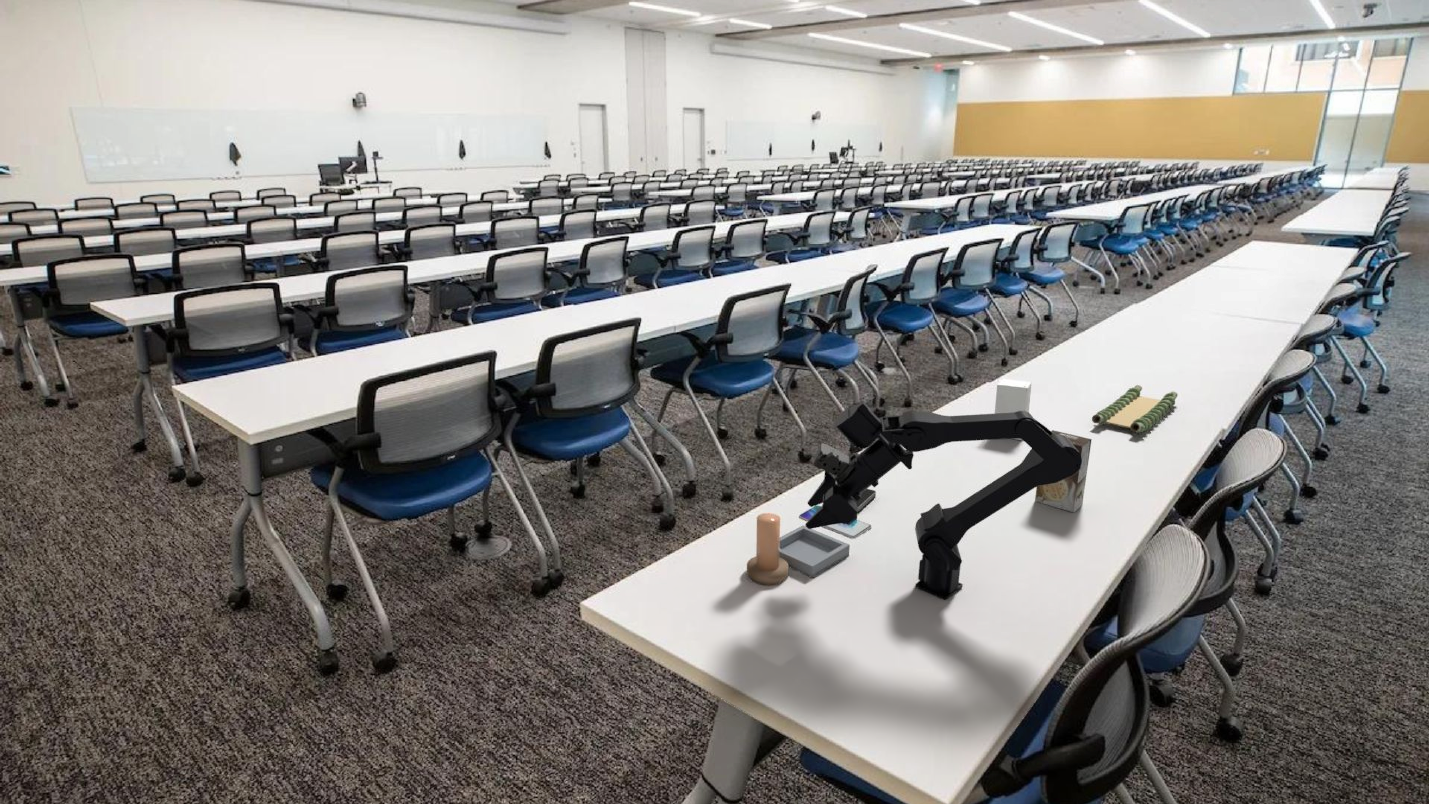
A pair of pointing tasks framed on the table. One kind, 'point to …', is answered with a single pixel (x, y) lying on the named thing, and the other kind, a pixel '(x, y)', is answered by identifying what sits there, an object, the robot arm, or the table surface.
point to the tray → (811, 551)
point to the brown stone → (767, 573)
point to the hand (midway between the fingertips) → (807, 515)
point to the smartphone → (840, 525)
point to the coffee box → (1068, 481)
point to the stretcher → (1135, 410)
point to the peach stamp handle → (768, 542)
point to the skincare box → (1012, 396)
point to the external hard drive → (865, 499)
